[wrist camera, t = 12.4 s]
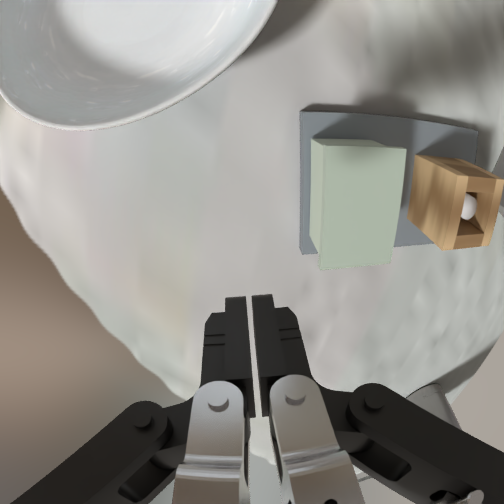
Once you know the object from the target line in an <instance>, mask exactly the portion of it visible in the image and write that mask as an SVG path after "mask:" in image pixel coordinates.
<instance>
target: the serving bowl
mask: <svg viewBox="0 0 504 504" xmlns="http://www.w3.org/2000/svg"><path fill="white" fill-rule="evenodd" d="M277 2H278V0H0V94H1V96H2V97H3V98H4V99H5V101H6V102H7V103H8V104H9V105H10V106H11V107H12V108H13V109H14V110H16V111H17V112H18V113H19V114H21V115H22V116H24V117H25V118H27V119H29V120H31V121H33V122H35V123H37V124H40V125H43V126H46V127H50V128H54V129H61V130H68V131H92V130H100V129H107V128H112V127H117V126H121V125H125V124H128V123H131V122H135V121H138V120H140V119H143V118H146V117H148V116H151V115H153V114H156V113H158V112H160V111H162V110H165V109H167V108H169V107H171V106H173V105H175V104H177V103H179V102H180V101H182V100H184V99H185V98H187V97H189V96H190V95H192V94H194V93H195V92H197V91H198V90H200V89H201V88H203V87H204V86H205V85H207V84H208V83H210V82H211V81H212V80H214V79H215V78H216V77H217V76H219V75H220V74H221V73H222V72H223V71H225V70H226V69H227V68H228V67H229V66H230V65H231V64H232V63H234V62H235V61H236V60H237V59H238V58H239V57H240V56H241V55H242V54H243V53H244V52H245V51H246V49H247V48H248V47H249V46H250V45H251V44H252V42H253V41H254V40H255V39H256V37H257V36H258V35H259V33H260V32H261V31H262V29H263V28H264V26H265V25H266V23H267V21H268V20H269V18H270V16H271V15H272V13H273V11H274V9H275V7H276V5H277Z"/></svg>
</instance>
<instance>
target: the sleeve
mask: <svg viewBox="0 0 504 504" xmlns="http://www.w3.org/2000/svg"><path fill="white" fill-rule="evenodd" d="M503 186H504V179H502V178H500V177H498V176H496V175H494V174H492V173H490V172H488V171H486V170H484V169H482V168H480V167H478V166H476V165H474V164H472V163H470V162H467V161H465V160H463V159H456V158H447V157H438V156H426V155H415V158H414V168H413V177H412V186H411V193H410V201H409V207H408V214H407V219H408V220H409V221H410V222H412V223H413V224H414V225H415V226H416V227H417V228H418V229H419V230H421V231H422V232H423V233H424V234H425V235H426V236H427V237H428V238H429V239H430V240H431V241H433V242H434V243H435V244H436V245H437V246H438V247H439V248H440V249H441V250H442V251H443V250H453V249H462V248H470V247H479V246H488V245H489V244H490V240H491V237H492V233H493V230H494V226H495V222H496V218H497V214H498V210H499V206H500V201H501V196H502V191H503ZM466 193H467V194H469V195H471V196H472V197H474V198H475V199H476V201H477V209H476V212H475V214H474V215H473V217H471V218H470V219H468V220H465V219H463V218H462V217H461V214H462V210H463V205H464V200H465V194H466Z"/></svg>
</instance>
